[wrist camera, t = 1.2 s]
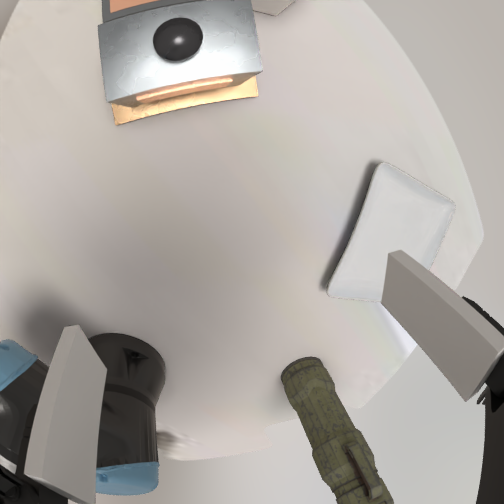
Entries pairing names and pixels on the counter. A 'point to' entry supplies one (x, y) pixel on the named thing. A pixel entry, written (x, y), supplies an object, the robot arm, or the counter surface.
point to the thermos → (333, 435)
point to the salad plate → (390, 232)
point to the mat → (133, 7)
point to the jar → (271, 6)
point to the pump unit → (179, 57)
